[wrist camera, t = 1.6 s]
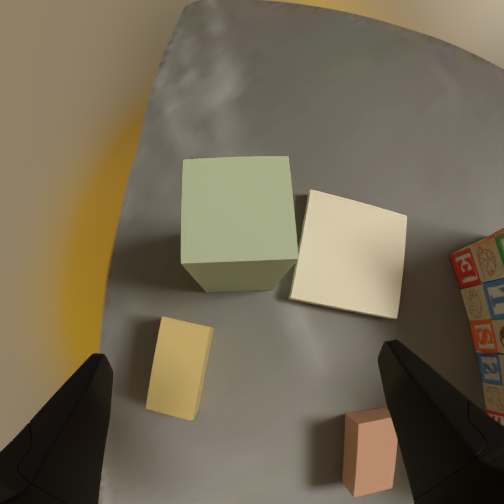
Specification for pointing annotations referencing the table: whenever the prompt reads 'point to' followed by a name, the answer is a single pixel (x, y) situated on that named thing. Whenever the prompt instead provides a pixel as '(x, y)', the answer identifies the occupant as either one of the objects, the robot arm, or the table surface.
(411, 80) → the table surface
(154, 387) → the ochre brick
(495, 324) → the stack of blocks
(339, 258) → the cream square slab
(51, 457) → the robot arm
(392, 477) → the terracotta brick
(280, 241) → the sage brick
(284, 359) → the table surface
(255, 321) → the table surface
